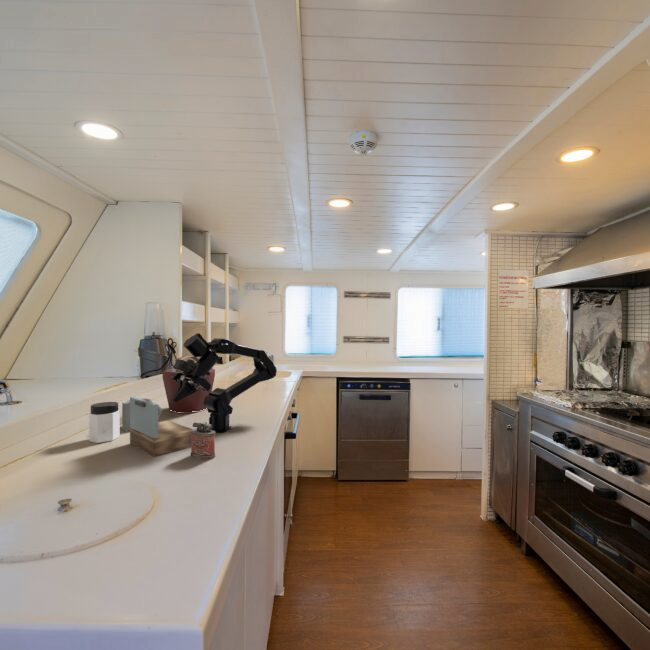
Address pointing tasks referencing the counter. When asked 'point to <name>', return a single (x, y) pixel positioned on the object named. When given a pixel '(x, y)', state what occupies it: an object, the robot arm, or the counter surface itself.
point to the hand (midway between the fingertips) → (173, 401)
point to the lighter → (202, 441)
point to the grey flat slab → (144, 417)
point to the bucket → (190, 402)
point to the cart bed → (163, 439)
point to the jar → (104, 422)
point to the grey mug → (127, 413)
